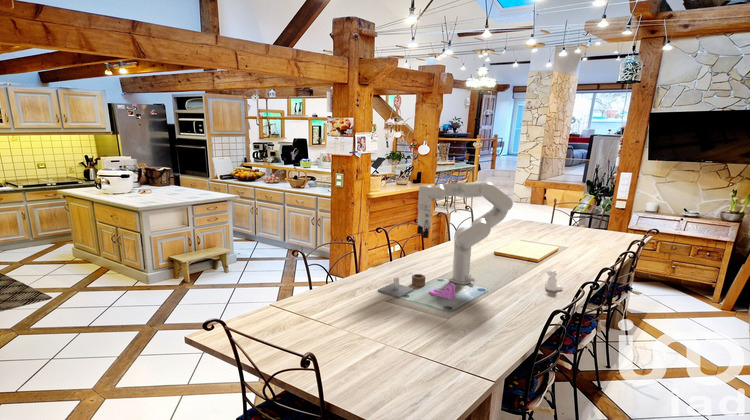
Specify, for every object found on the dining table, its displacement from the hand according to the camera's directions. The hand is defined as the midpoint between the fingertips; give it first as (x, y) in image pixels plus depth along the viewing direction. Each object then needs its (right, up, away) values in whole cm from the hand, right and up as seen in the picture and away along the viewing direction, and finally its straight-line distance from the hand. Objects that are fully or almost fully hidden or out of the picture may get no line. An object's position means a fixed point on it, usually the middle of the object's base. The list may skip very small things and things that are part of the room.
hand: (422, 235), depth 236 cm
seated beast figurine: (+71, -30, -9) cm, 78 cm away
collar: (-3, -27, -6) cm, 28 cm away
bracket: (+8, -31, -19) cm, 37 cm away
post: (-16, -29, -16) cm, 37 cm away
